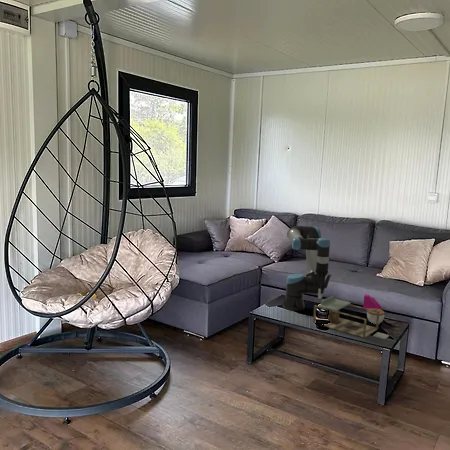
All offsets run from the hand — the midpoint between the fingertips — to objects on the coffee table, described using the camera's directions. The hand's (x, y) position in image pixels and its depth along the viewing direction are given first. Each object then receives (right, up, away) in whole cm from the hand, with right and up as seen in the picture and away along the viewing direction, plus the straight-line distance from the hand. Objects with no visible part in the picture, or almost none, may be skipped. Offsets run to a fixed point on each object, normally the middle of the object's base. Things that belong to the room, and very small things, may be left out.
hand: (320, 298), depth 290 cm
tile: (+31, -19, -24) cm, 44 cm away
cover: (+8, -3, -6) cm, 11 cm away
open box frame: (+14, -16, -10) cm, 23 cm away
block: (+8, -14, -5) cm, 17 cm away
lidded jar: (+35, -16, -2) cm, 38 cm away
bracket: (+42, -12, +25) cm, 50 cm away
